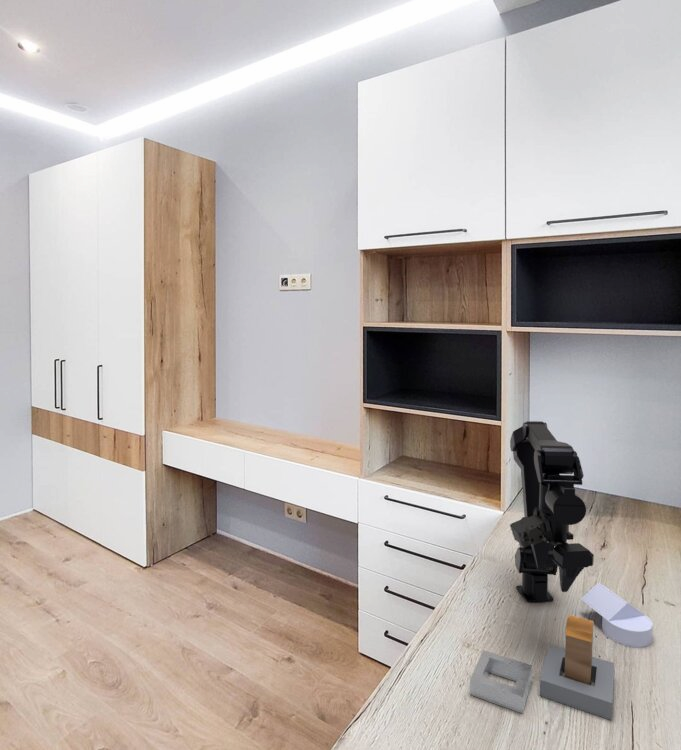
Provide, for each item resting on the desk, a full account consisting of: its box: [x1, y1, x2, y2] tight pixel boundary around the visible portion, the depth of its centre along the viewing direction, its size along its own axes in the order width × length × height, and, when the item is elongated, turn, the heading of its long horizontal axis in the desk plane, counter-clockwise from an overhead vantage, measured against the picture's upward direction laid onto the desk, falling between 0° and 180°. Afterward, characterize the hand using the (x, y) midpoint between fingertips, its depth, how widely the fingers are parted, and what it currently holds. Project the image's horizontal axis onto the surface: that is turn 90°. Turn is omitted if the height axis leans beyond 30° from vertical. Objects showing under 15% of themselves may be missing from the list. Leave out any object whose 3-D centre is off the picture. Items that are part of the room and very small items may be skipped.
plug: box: [564, 614, 594, 686], centre depth 88 cm, size 4×4×12 cm
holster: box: [469, 649, 533, 714], centre depth 88 cm, size 9×9×3 cm
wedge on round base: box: [580, 582, 654, 648], centre depth 105 cm, size 9×7×13 cm
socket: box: [539, 644, 615, 721], centre depth 88 cm, size 11×11×3 cm
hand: (551, 580), depth 102 cm, fingers open, 9 cm apart
